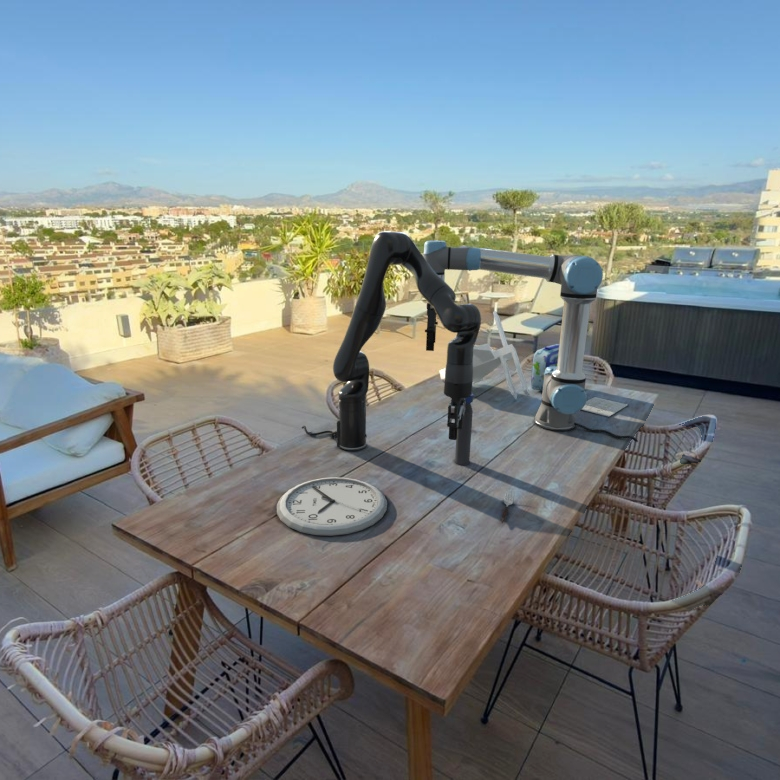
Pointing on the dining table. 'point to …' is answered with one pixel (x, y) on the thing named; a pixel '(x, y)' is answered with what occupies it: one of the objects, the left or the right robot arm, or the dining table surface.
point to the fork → (507, 502)
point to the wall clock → (331, 506)
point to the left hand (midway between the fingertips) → (455, 433)
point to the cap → (469, 399)
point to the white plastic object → (495, 361)
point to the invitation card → (603, 406)
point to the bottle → (464, 437)
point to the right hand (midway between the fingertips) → (430, 346)
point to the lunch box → (543, 364)
